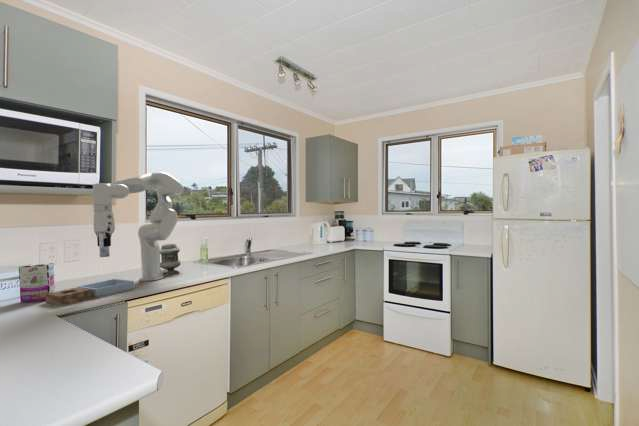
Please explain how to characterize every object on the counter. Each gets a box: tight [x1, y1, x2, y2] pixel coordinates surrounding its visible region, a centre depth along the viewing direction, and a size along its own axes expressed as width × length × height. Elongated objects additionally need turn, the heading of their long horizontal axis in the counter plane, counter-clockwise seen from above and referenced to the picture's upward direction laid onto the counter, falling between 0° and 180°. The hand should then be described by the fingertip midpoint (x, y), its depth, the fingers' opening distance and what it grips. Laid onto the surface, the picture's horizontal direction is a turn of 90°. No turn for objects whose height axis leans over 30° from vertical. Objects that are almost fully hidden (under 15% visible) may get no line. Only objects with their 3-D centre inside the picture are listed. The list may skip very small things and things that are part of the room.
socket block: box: [45, 286, 93, 307], centre depth 143 cm, size 12×12×4 cm
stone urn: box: [160, 243, 182, 276], centre depth 201 cm, size 12×12×18 cm
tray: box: [76, 278, 135, 299], centre depth 157 cm, size 18×16×4 cm
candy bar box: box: [18, 262, 56, 303], centre depth 145 cm, size 11×5×16 cm, turn 105°
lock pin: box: [98, 232, 111, 258], centre depth 157 cm, size 4×4×12 cm
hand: (104, 245), depth 157 cm, fingers closed on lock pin, 4 cm apart
